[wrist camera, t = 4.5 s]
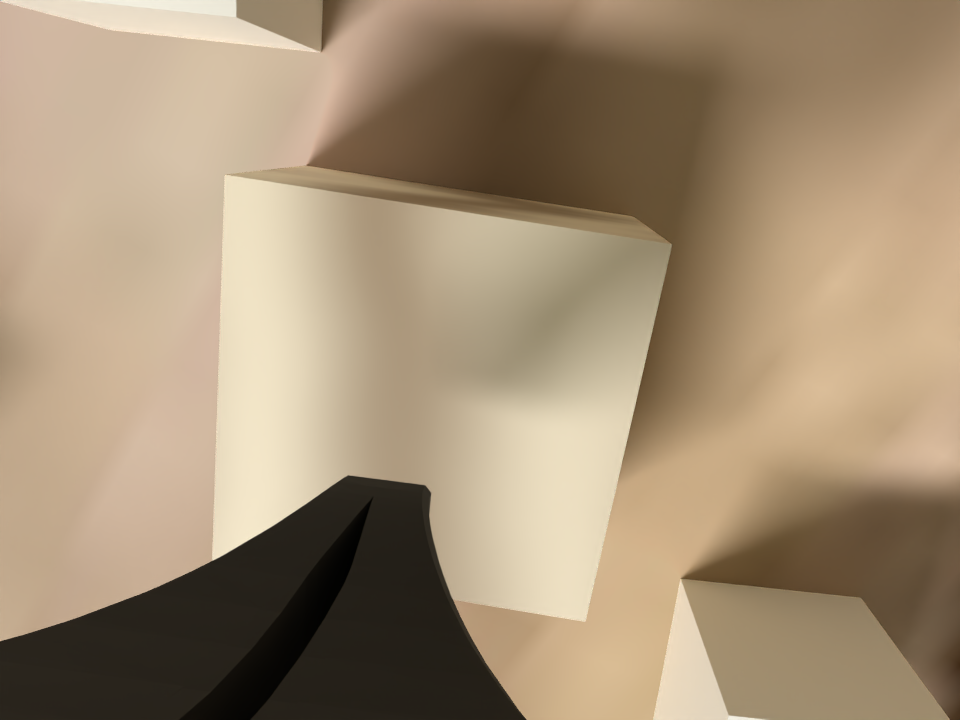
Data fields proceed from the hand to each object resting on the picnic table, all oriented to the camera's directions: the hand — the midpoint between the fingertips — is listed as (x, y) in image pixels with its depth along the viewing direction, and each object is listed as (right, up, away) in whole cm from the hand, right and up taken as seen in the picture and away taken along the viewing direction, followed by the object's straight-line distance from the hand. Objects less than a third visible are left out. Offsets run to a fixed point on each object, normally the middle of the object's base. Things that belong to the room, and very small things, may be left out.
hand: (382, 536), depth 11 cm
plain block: (+1, +3, +7) cm, 8 cm away
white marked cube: (+9, -6, +10) cm, 15 cm away
